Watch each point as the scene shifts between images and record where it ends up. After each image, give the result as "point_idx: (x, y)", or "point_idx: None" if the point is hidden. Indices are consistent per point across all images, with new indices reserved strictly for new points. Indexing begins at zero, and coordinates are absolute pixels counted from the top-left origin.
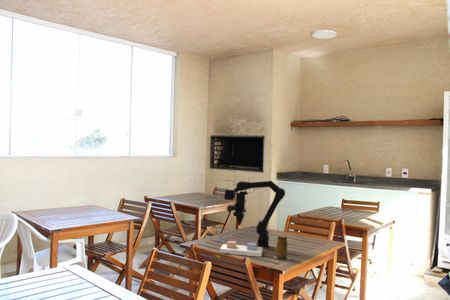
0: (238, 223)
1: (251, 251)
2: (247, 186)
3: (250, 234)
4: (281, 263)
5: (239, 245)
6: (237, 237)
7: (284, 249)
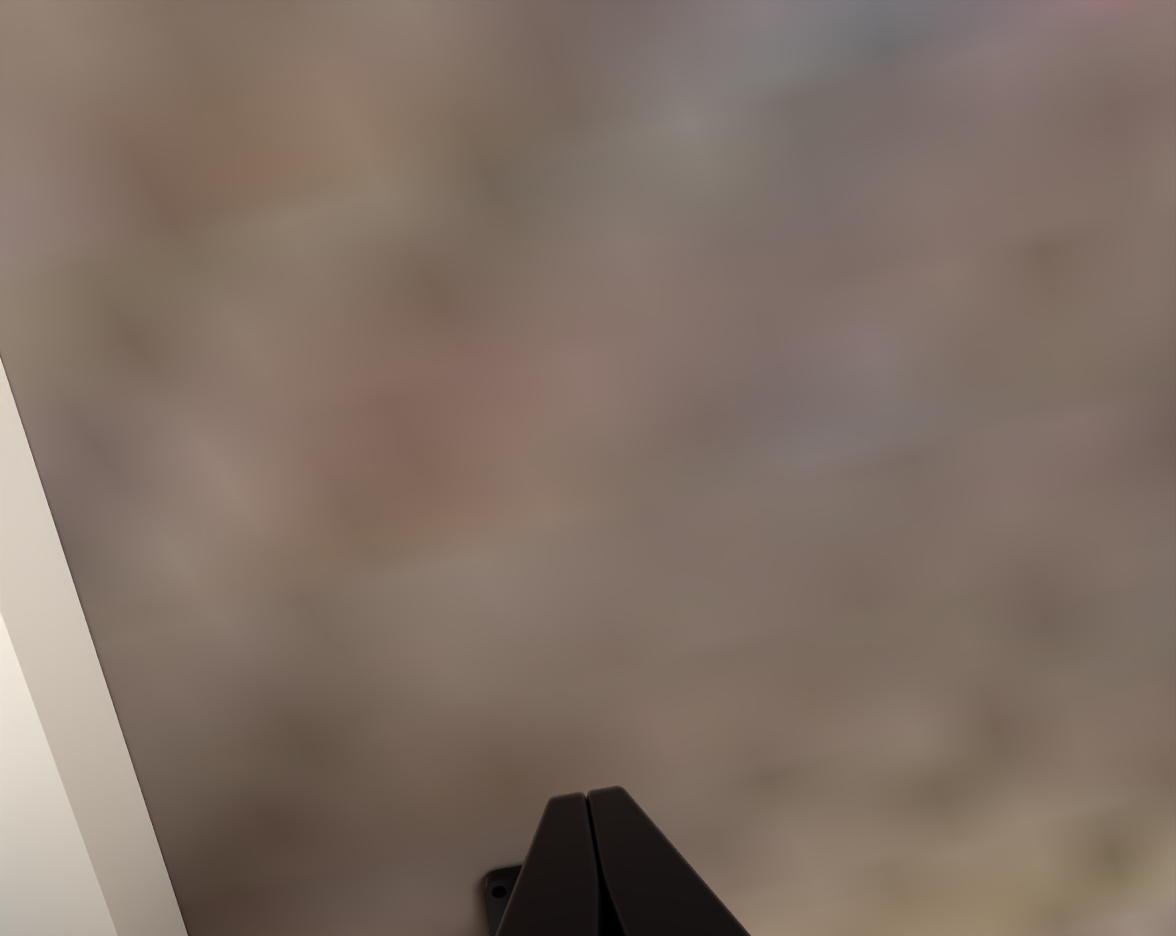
0: (512, 902)
1: None
2: None
3: None
4: None
5: (2, 679)
6: (1132, 342)
7: None
